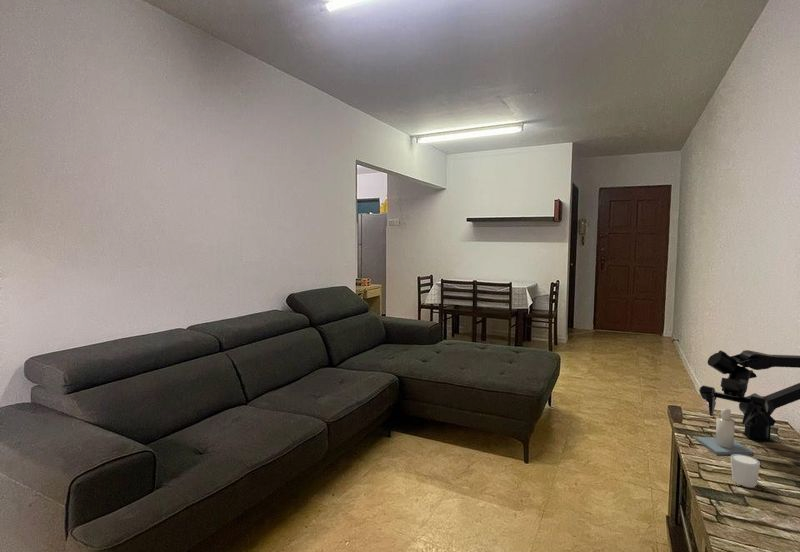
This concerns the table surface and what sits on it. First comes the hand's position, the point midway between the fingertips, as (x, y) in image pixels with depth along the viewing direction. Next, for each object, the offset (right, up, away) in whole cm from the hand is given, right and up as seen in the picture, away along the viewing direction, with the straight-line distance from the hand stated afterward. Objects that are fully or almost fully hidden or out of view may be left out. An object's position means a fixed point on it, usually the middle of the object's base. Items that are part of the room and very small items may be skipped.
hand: (726, 419), depth 148 cm
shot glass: (-11, -12, -21) cm, 26 cm away
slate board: (0, -10, +1) cm, 10 cm away
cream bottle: (0, -9, 0) cm, 9 cm away
